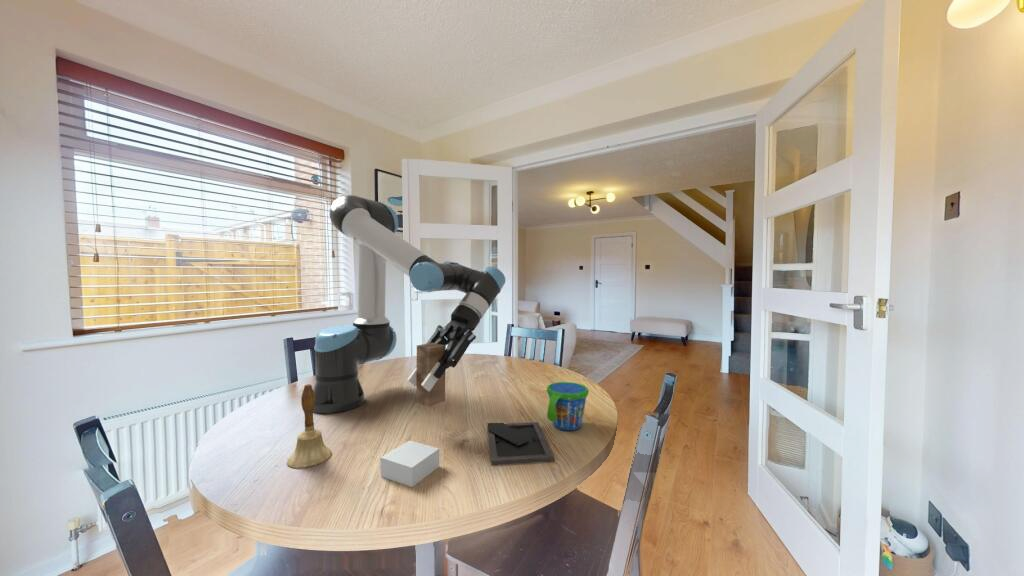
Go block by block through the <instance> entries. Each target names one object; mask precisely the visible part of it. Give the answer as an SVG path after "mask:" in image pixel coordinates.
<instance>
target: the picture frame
mask: <svg viewBox="0 0 1024 576" xmlns="http://www.w3.org/2000/svg"><path fill="white" fill-rule="evenodd" d="M486 427H487V436H488V447H489V456H490V465H491V466H501V465H519V464H535V463H537V464H538V463H551V462H550V461H554V462H555V457H554V454H553V451H552V449H551V448H550V445H549V443H548V441H547V439H546V436H545V434H544V432H543V430H542V427H541V426H540V424H539V422H538V421H532V422H515V423H514V422H513V423H512V422H511V423H509V422H508V423H504V422H487V426H486Z"/></svg>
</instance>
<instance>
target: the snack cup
mask: <svg viewBox="0 0 1024 576" xmlns="http://www.w3.org/2000/svg"><path fill="white" fill-rule="evenodd" d="M546 392H547V394H548V398H549V401H548V406H547V413H546V417H547V419H548V421H550V422H552V424H553V425H554V427H556V428H557V429H559V430H563V431H576V430H578V429H580V428H581V427H582V425H583V419H584V414H585V407H586V406H585V405H586V400H587V399H586V398H587V397H588V395H589V392H590V391H589V388H588V387H587V386H586V385H583V384H580V383H577V382H571V381H570V382H569V381H560V382H553V383H550V384H549V385H547V387H546Z"/></svg>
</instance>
